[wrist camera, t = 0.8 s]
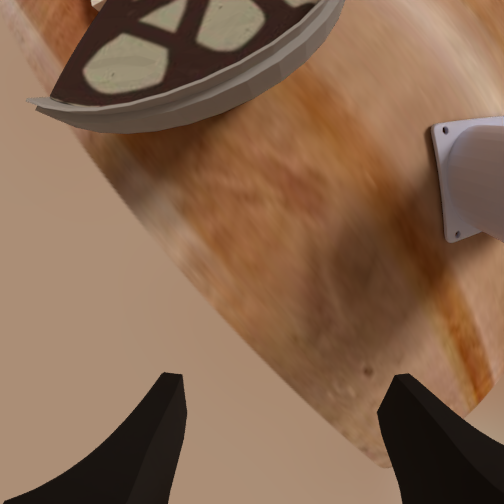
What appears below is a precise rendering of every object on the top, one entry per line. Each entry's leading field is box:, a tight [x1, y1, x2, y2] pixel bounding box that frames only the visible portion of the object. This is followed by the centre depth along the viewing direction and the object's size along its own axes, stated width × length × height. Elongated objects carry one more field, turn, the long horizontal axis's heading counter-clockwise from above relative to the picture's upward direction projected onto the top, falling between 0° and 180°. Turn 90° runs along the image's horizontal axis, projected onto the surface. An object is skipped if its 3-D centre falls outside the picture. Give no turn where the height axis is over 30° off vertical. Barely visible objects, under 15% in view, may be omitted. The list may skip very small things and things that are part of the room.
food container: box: [26, 0, 345, 134], centre depth 9 cm, size 12×6×10 cm, turn 147°
